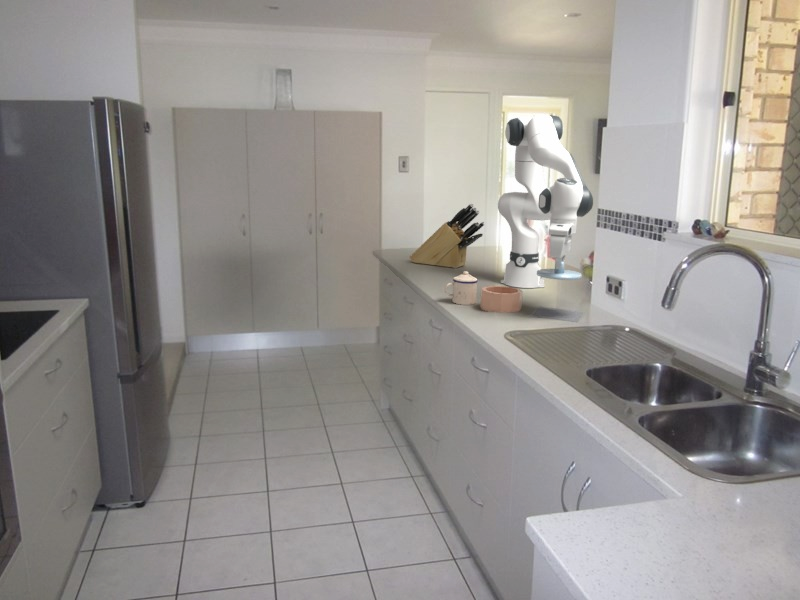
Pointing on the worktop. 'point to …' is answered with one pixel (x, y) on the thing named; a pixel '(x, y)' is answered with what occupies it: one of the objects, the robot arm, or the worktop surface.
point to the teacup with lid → (463, 289)
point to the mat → (557, 314)
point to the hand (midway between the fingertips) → (559, 267)
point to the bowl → (501, 299)
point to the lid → (559, 273)
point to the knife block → (450, 241)
